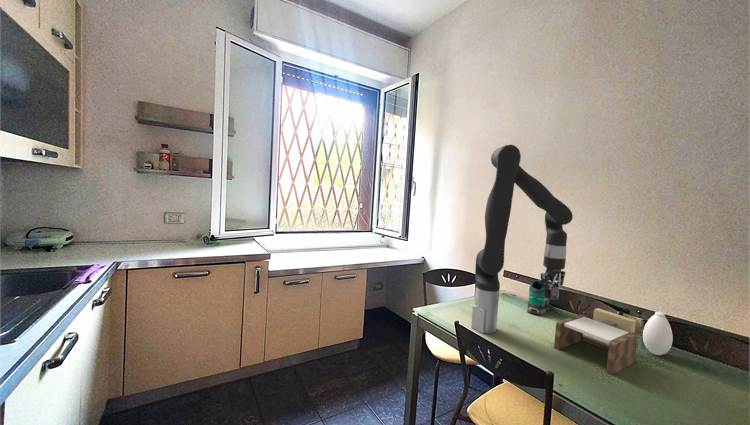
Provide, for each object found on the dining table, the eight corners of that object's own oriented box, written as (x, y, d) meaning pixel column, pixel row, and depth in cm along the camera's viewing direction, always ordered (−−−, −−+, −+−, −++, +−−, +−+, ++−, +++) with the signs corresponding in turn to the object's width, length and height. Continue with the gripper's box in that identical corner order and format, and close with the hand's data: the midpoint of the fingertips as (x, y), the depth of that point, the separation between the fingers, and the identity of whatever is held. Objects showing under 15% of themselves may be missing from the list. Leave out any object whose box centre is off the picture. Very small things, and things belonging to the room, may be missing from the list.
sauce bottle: (671, 355, 107) (677, 307, 106) (669, 362, 102) (675, 312, 101) (642, 345, 113) (647, 300, 112) (639, 352, 108) (644, 305, 107)
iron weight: (554, 300, 116) (555, 288, 116) (541, 296, 120) (542, 284, 120) (560, 299, 118) (561, 286, 118) (548, 295, 123) (549, 283, 122)
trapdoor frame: (611, 375, 93) (614, 344, 92) (554, 347, 109) (556, 321, 108) (637, 360, 102) (640, 332, 102) (580, 337, 118) (583, 313, 117)
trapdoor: (609, 351, 95) (611, 333, 94) (562, 332, 107) (564, 316, 107) (638, 337, 106) (640, 321, 105) (593, 321, 118) (594, 307, 118)
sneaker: (553, 305, 154) (556, 277, 152) (542, 317, 136) (545, 286, 135) (534, 300, 160) (536, 273, 159) (521, 311, 142) (523, 281, 141)
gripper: (555, 252, 125) (551, 291, 126) (535, 255, 118) (531, 296, 119) (574, 256, 119) (570, 297, 120) (554, 259, 111) (550, 302, 112)
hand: (551, 296), depth 119 cm, fingers closed on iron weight, 5 cm apart
